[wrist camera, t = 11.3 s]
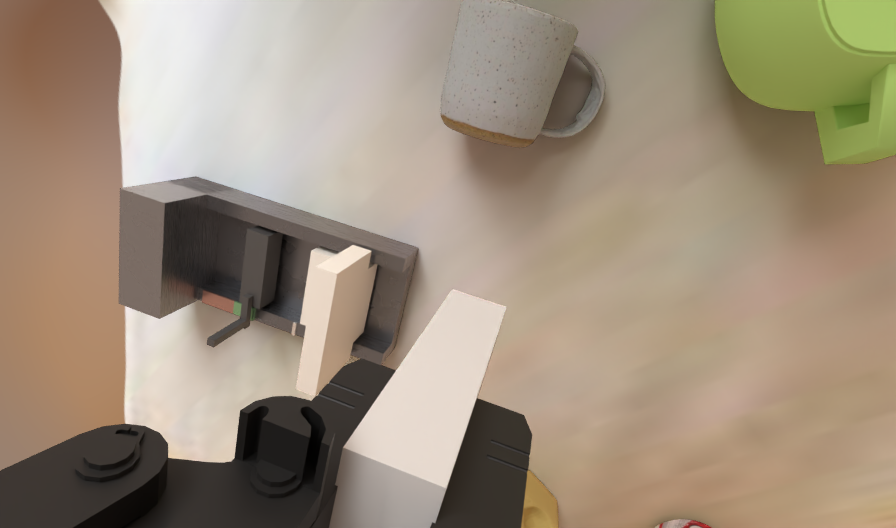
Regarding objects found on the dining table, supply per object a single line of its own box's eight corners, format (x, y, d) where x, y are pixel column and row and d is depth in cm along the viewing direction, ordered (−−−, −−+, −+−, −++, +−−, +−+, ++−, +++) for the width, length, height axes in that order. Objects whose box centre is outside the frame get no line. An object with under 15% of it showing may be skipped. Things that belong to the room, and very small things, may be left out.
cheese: (491, 418, 44) (471, 498, 35) (565, 503, 45) (564, 604, 36) (412, 467, 48) (374, 551, 39) (482, 545, 49) (461, 646, 39)
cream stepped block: (381, 244, 40) (337, 274, 32) (360, 347, 43) (314, 396, 35) (327, 226, 40) (270, 251, 33) (309, 329, 44) (255, 373, 36)
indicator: (283, 230, 41) (230, 251, 35) (271, 318, 44) (221, 352, 38) (262, 223, 42) (207, 242, 35) (252, 311, 45) (199, 343, 38)
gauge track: (418, 247, 41) (384, 276, 34) (394, 347, 44) (359, 394, 37) (195, 176, 44) (120, 188, 37) (189, 274, 48) (118, 303, 40)
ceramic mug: (447, 122, 37) (420, 124, 30) (474, 8, 35) (452, -20, 28) (580, 159, 36) (585, 170, 29) (620, 44, 33) (636, 24, 26)
